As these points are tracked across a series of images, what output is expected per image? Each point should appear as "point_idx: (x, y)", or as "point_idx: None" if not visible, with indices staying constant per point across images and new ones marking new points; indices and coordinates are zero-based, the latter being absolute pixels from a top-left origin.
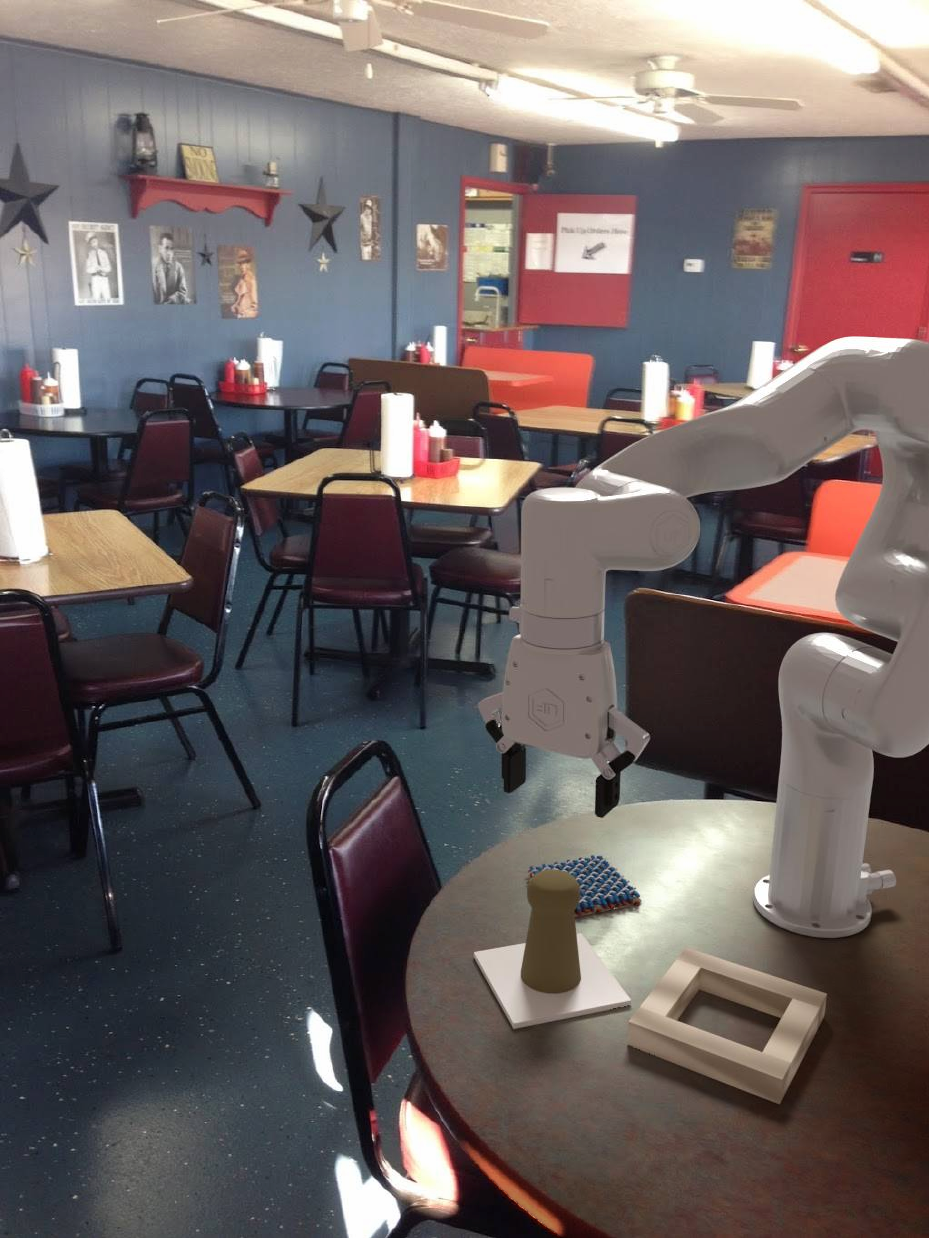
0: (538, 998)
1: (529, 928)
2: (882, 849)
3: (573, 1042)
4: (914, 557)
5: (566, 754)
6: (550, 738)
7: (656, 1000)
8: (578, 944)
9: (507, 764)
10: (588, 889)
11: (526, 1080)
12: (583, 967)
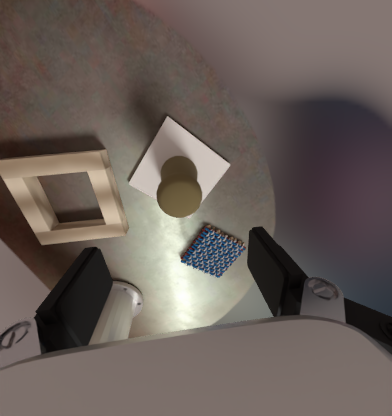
0: (171, 149)
1: (191, 172)
2: None
3: (131, 130)
4: None
5: (84, 348)
6: (137, 413)
7: (102, 181)
8: None
9: (281, 259)
10: (206, 250)
11: (127, 72)
12: None
